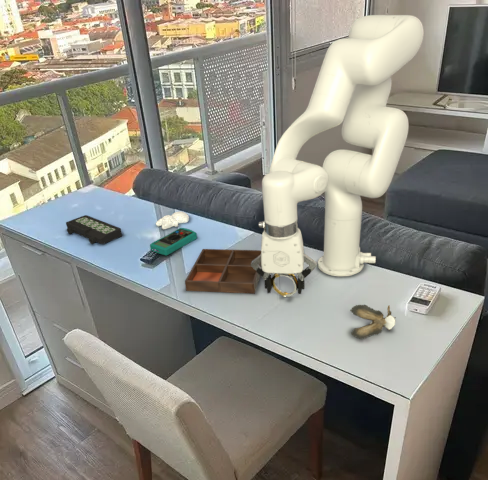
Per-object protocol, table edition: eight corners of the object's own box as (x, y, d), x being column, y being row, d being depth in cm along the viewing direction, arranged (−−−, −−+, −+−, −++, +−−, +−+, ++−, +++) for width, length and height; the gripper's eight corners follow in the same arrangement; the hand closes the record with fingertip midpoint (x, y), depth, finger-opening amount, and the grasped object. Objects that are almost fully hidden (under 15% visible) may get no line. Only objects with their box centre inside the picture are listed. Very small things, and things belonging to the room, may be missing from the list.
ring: (270, 296, 125) (268, 269, 120) (276, 290, 127) (274, 263, 122) (294, 302, 122) (293, 275, 117) (300, 296, 124) (299, 269, 119)
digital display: (60, 222, 168) (85, 213, 173) (63, 231, 169) (87, 222, 175) (96, 238, 155) (121, 227, 161) (98, 247, 157) (123, 236, 163)
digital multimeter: (199, 238, 157) (198, 230, 156) (166, 257, 148) (164, 248, 147) (182, 233, 161) (181, 225, 160) (150, 251, 152) (148, 243, 150)
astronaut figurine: (152, 224, 169) (150, 215, 168) (182, 214, 175) (180, 205, 173) (164, 231, 164) (163, 223, 162) (194, 221, 169) (193, 212, 167)
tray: (265, 259, 143) (265, 250, 141) (254, 293, 128) (254, 284, 126) (203, 257, 146) (202, 248, 145) (186, 290, 132) (184, 281, 130)
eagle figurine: (381, 312, 115) (346, 311, 113) (395, 299, 109) (358, 298, 107) (387, 342, 112) (350, 342, 111) (402, 331, 106) (363, 331, 104)
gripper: (241, 234, 112) (248, 298, 122) (318, 234, 108) (318, 300, 119) (247, 219, 118) (253, 282, 128) (320, 219, 114) (320, 283, 125)
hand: (284, 290), depth 123 cm, fingers closed on ring, 7 cm apart
